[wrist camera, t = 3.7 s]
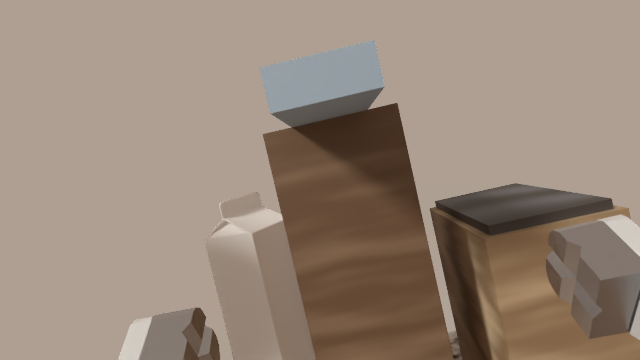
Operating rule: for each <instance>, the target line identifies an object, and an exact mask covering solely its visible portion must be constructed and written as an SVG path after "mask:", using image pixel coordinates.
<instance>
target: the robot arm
mask: <svg viewBox="0 0 640 360" xmlns="http://www.w3.org/2000/svg"><path fill="white" fill-rule="evenodd" d="M548 244H549V246H550V247H551V248H552V249H553V251H552V252H551V253H550V254H549V255H548V256H547V258H546V272H547V276H548V280H549V282H550V284H551V286H552V288H553V290H554V291H555V293H556V294H557V296H558V297H559V298H560V299H562V300H564V301H566V302H568V303H570V304H572V307H571V315H572V317H573V318H574V319H575V321H576V322H577V324H578V325H579V326H580V328H581V329H582V330H583V332H584V333H585V335H586V336H587V337H588V339H593V338H598V337H604V336H610V335H615V334H621V333H626V332H630V334H631V335H632V336H634V337H635V338H637V339H639V340H640V228H639V227H638V226H637V225H636V224H635V223H634V222H633V221H631V220H630V219H629V218H628V217H626V216H624V215H616V216H612V217H608V218H603V219H599V220H596V221H590V222H585V223H581V224H576V225H572V226H568V227H563V228H559V229H554V230H552V231H551V232H550V234H549V237H548ZM205 320H206V316H205V315H204V313H203V311H202V310H201V308H192V309H186V310H182V311H176V312H171V313H166V314H161V315H156V316H152V317H147V318H141V319H136V320H135V321H134V322H133V323H132V324H131V325H130V327H129V330H128V333H127V336H126V338H125V341H124V344H123V347H122V350H121V353H120V355H119V359H118V360H220V353H219V344H218V340H217V337H216V335H215V333H214V331H213V329H211V328H209V327H207V326H205Z"/></svg>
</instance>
